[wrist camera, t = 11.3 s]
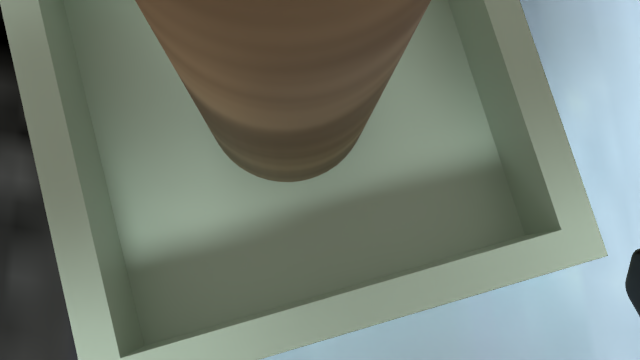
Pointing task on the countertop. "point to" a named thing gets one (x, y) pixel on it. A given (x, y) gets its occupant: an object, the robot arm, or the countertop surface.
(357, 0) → the lock pin
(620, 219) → the countertop surface
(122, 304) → the tray
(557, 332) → the countertop surface
